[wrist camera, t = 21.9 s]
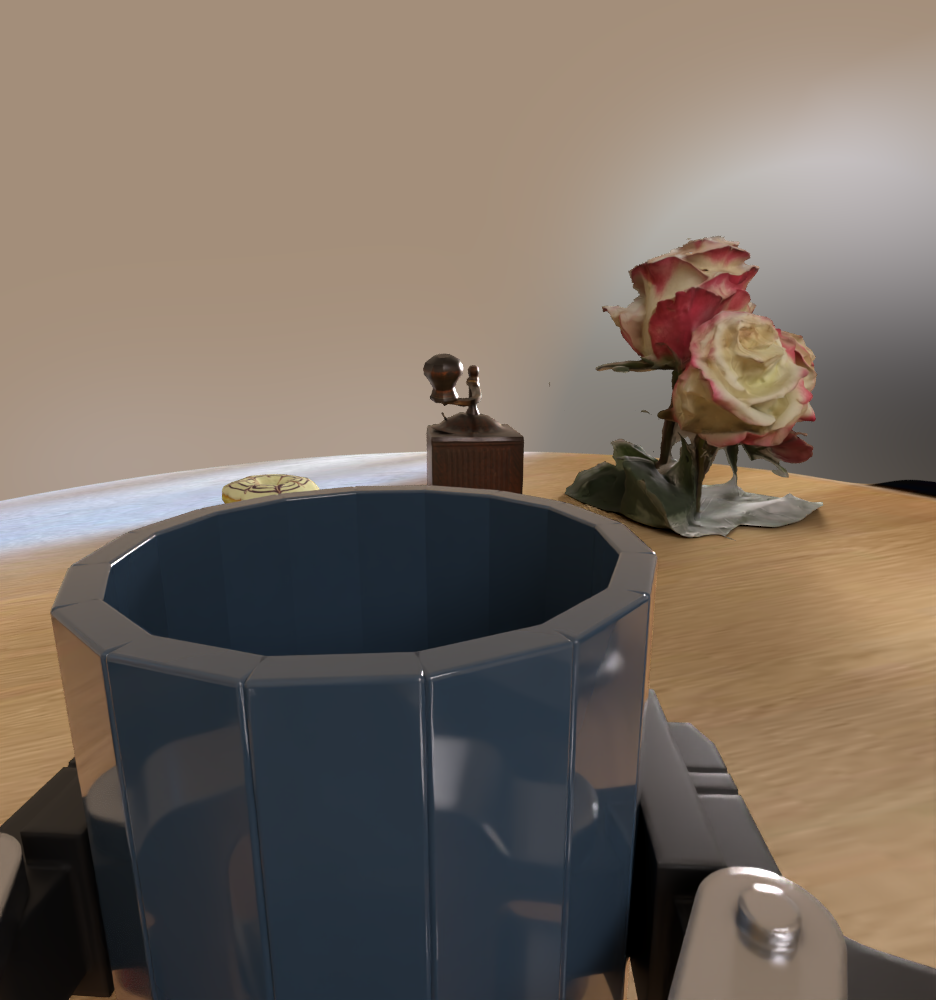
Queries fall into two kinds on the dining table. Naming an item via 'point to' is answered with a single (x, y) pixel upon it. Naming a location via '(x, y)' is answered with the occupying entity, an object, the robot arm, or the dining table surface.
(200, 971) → the tumbler
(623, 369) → the rose bouquet
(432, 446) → the manual coffee grinder
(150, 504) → the dining table surface
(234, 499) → the decorated donut
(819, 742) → the dining table surface
